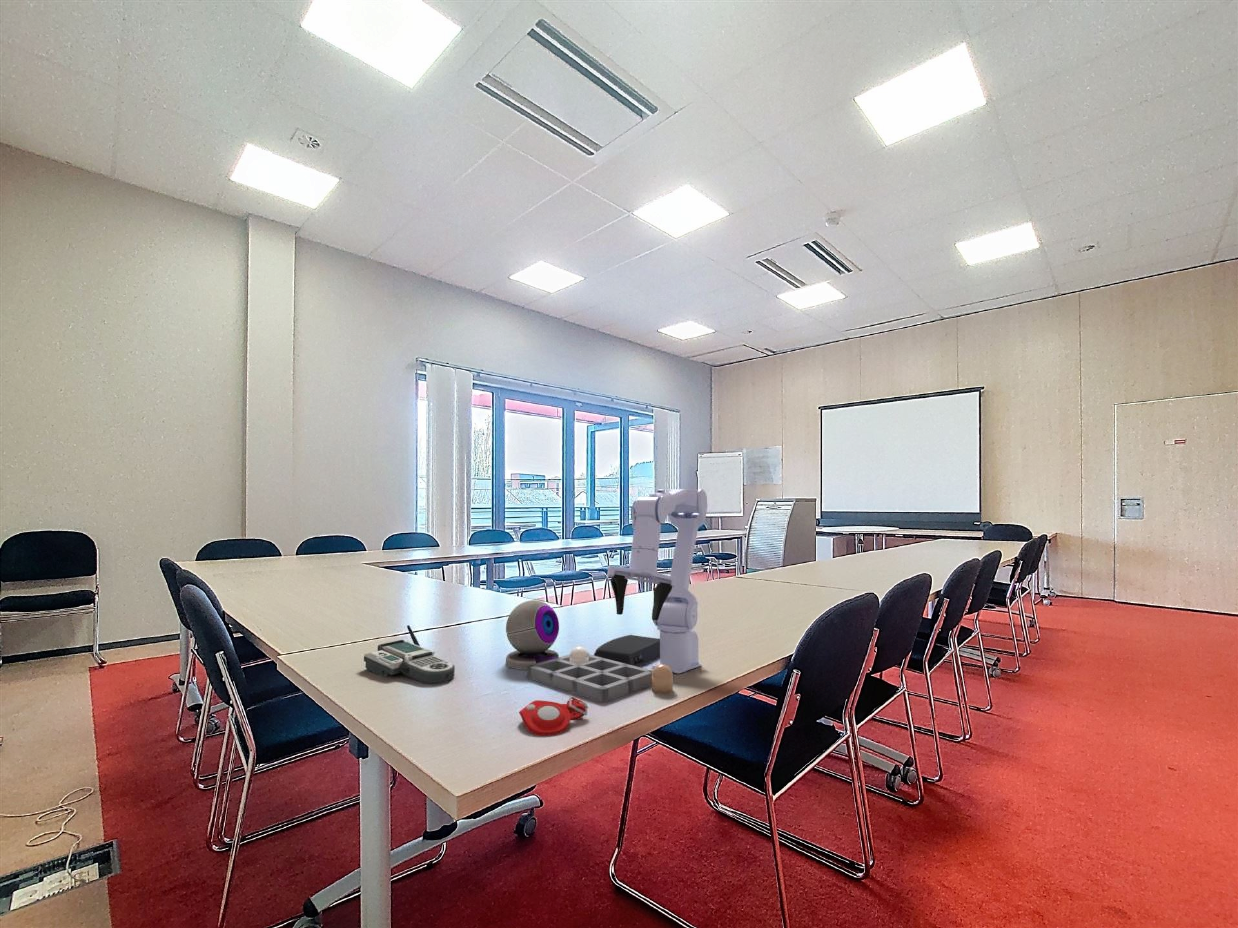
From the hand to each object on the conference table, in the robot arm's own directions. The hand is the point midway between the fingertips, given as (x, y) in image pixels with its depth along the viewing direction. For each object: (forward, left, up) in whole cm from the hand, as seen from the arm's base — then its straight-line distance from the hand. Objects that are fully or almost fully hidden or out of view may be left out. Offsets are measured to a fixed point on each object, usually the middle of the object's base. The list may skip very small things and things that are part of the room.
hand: (637, 617), depth 118 cm
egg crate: (-1, -15, -16) cm, 22 cm away
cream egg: (-5, -22, -16) cm, 28 cm away
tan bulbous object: (-7, +1, -16) cm, 17 cm away
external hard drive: (-22, -21, -17) cm, 34 cm away
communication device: (+23, -49, -17) cm, 56 cm away
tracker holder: (+21, -2, -17) cm, 26 cm away
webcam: (-2, -36, -16) cm, 39 cm away
